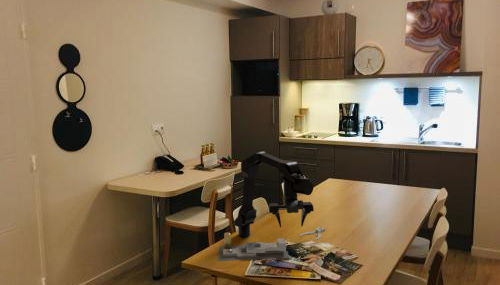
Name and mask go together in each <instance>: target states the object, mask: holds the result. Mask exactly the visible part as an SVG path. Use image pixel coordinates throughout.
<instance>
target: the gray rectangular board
mask: <svg viewBox="0 0 500 285" xmlns="http://www.w3.org/2000/svg"><path fill="white" fill-rule="evenodd" d="M237 247H246V244H244V245H243V244H242V245H238V244H237V245H231V249H237ZM255 248H260V247H255ZM223 249H225V245H220V246H219V248H218V258H217V259H218V260H217V261H219V262H223V261H225V262H226V261H227V262H228V261H229V262H230V261H247V260H249V261H250V260H268V259H269V260H270V259H275V260H276V259H290V256H289V251H288V250H287V251H284V255H263V256H258V253H256V257H250V258H237V257H223ZM241 253H243V252H241Z"/></svg>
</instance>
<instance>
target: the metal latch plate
mask: <svg viewBox="0 0 500 285" xmlns="http://www.w3.org/2000/svg"><path fill="white" fill-rule="evenodd" d="M245 245H246V252H247V253H265V251H286V249H287V242H286V239H285V238H277V242H264V241H257V242H256V241H255V242H253V241H252V242H246V243H245ZM252 247H260V248H252Z"/></svg>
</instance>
